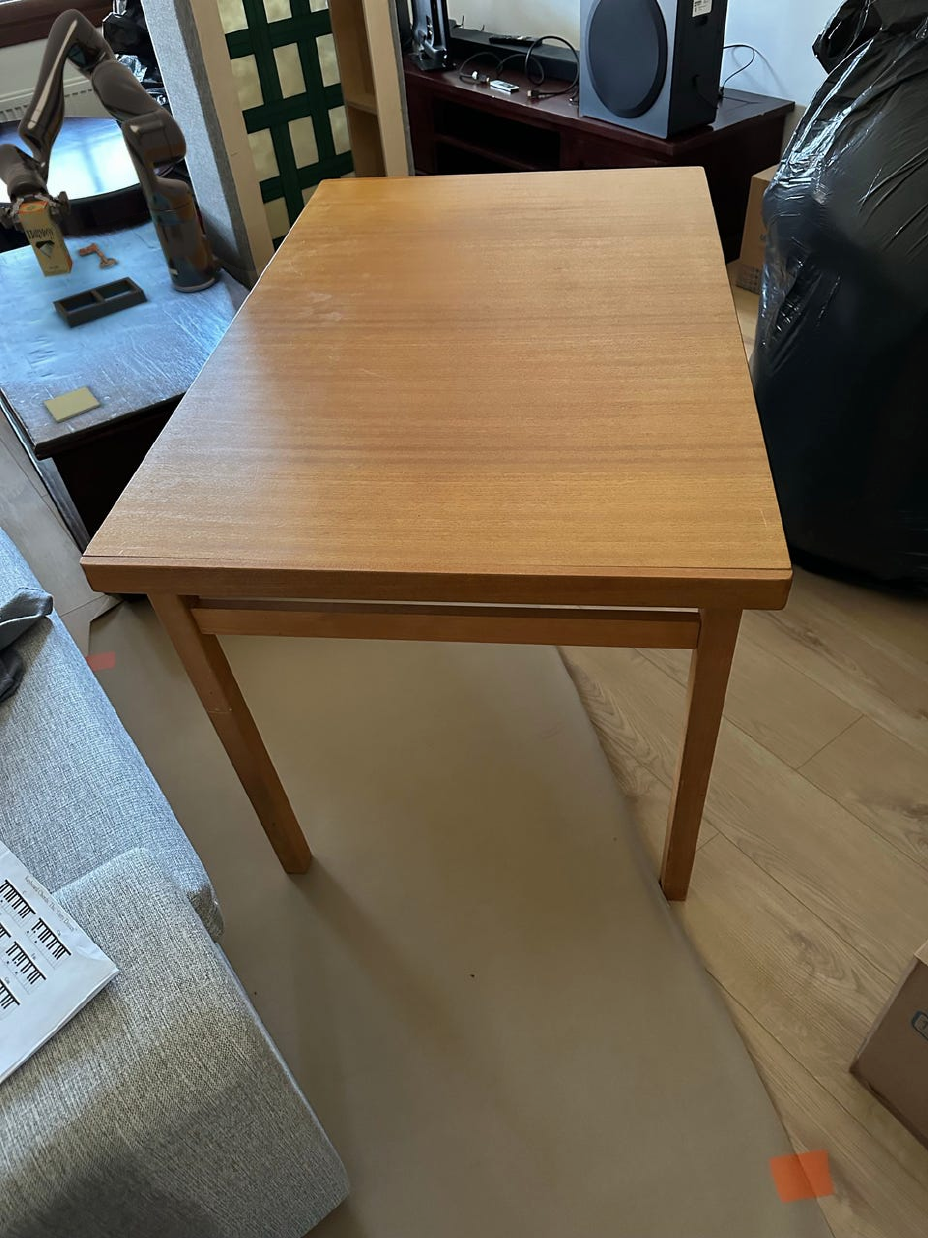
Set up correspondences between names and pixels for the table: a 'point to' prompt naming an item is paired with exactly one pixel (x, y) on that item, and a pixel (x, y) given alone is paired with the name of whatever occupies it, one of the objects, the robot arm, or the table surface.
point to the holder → (99, 301)
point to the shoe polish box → (45, 238)
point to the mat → (71, 404)
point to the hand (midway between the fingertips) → (38, 222)
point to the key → (98, 253)
